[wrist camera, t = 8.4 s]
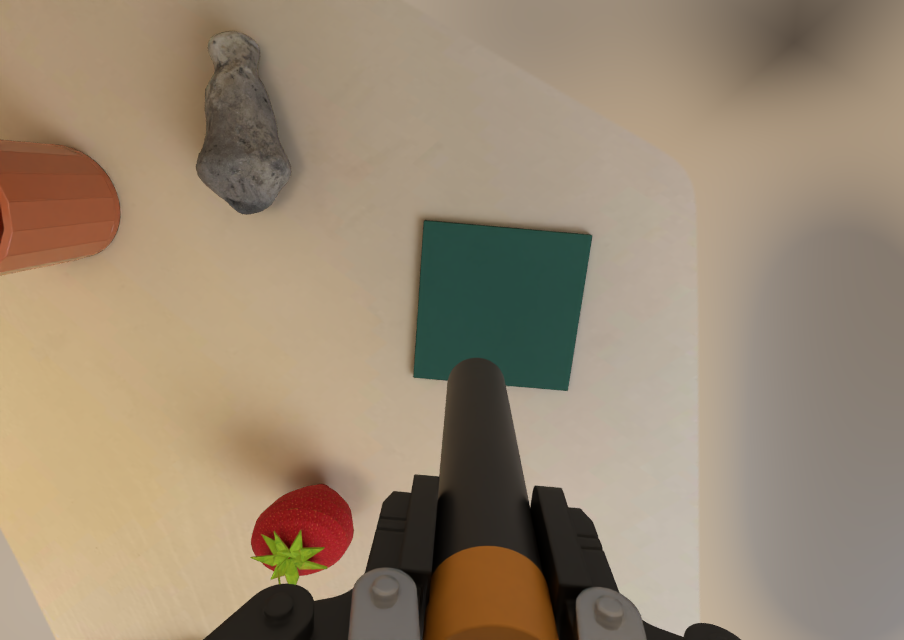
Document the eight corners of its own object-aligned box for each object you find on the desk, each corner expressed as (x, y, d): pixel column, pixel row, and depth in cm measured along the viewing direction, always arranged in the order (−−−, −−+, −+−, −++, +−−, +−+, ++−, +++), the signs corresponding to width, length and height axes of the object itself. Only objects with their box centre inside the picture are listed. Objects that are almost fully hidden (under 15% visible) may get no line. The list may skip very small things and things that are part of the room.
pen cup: (1, 139, 35) (-153, 126, 26) (114, 149, 35) (-2, 139, 26) (18, 253, 37) (-118, 275, 28) (125, 262, 37) (21, 287, 28)
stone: (227, 37, 33) (117, 86, 29) (259, 6, 29) (137, 58, 26) (310, 171, 38) (225, 228, 34) (347, 160, 34) (255, 223, 30)
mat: (424, 220, 36) (423, 220, 35) (590, 234, 36) (592, 235, 35) (413, 375, 39) (413, 377, 38) (566, 388, 39) (567, 391, 38)
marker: (449, 353, 22) (424, 618, 9) (509, 359, 22) (577, 632, 9) (444, 408, 23) (414, 731, 9) (502, 413, 23) (555, 745, 9)
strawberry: (375, 511, 42) (348, 609, 33) (290, 525, 43) (240, 625, 33) (357, 451, 41) (324, 534, 31) (270, 466, 41) (211, 553, 32)
